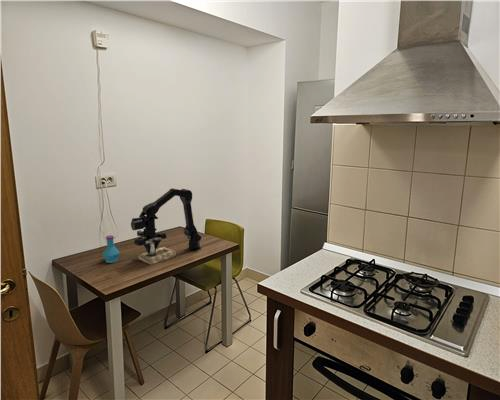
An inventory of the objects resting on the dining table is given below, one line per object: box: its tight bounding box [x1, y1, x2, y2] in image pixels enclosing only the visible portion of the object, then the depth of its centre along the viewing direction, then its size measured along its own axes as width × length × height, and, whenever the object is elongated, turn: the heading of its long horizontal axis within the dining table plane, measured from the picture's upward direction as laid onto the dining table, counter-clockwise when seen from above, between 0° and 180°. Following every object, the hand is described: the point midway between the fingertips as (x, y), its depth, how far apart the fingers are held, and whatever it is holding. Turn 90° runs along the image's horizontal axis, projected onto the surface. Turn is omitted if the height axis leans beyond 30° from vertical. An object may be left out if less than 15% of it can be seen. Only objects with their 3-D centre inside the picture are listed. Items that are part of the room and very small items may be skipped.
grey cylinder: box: [148, 241, 155, 257], centre depth 204 cm, size 4×4×9 cm
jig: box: [138, 246, 177, 265], centre depth 208 cm, size 18×12×3 cm, turn 141°
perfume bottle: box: [102, 234, 120, 263], centre depth 202 cm, size 9×9×15 cm
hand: (151, 252), depth 204 cm, fingers closed on grey cylinder, 4 cm apart
